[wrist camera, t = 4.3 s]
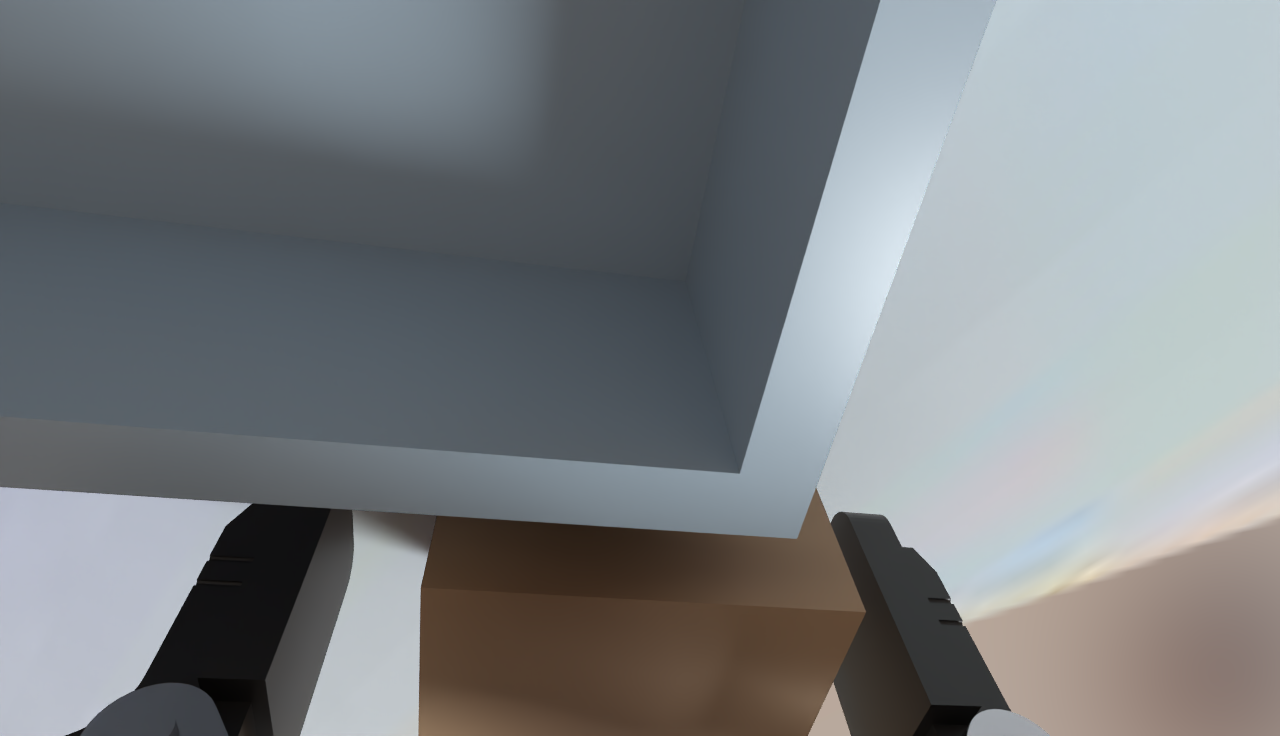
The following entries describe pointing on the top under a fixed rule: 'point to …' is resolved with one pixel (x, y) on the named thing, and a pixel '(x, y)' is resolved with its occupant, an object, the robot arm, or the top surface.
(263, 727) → the robot arm
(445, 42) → the tray
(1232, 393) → the top surface
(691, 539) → the walnut block
